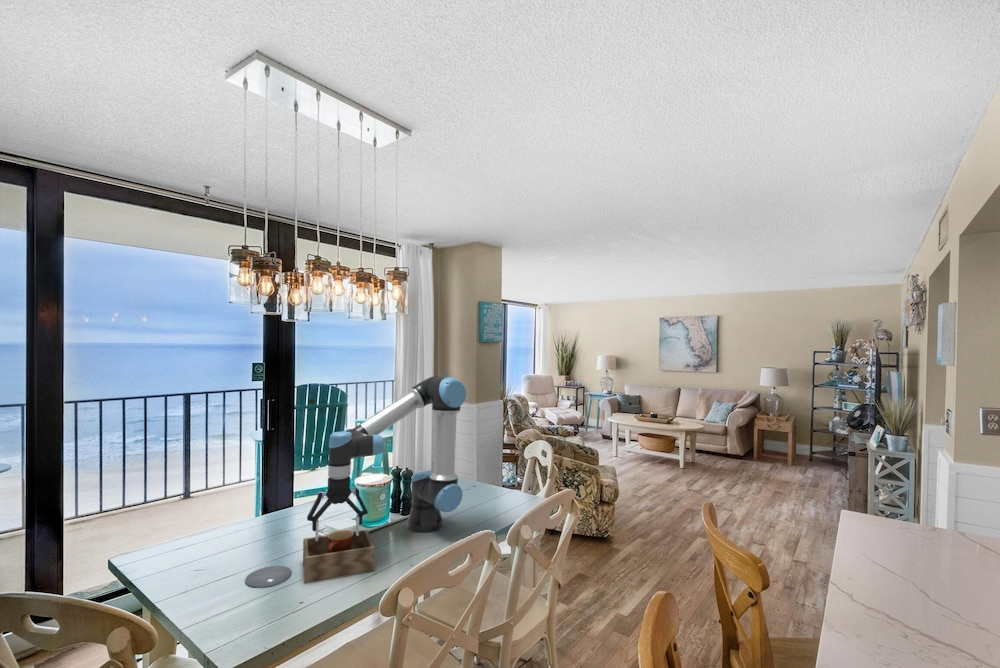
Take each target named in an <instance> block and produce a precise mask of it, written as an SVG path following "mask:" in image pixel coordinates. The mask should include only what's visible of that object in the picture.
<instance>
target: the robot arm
mask: <svg viewBox="0 0 1000 668" xmlns="http://www.w3.org/2000/svg"><path fill="white" fill-rule="evenodd" d="M466 399H467V389H466V386H465V385H464V383H463V382H462V381H461V380H459V379H457V378H454V377H450V376H449V377H447V376H437V375H434V376H430V377H428V378H426V379H424V380H422V381H420V382H418V383H417V384H416V385H413V386H412V387H411V388H410V389H408V392H407V393H406V394H404V395H403V396H402V397H401V396H400V398H398V399H397V400H395V401H394V402H392V403H391V404H389V405H388V406H386V407H384V408H383V409H381V410H380V411H378V412H376V413H375V414H374V415H371V417H369V418H368V419H366V420H364V421H363V422H361V423H360V424H358V425H357V426H355V427H354V428H346V429H344V430H342V431H336V432H332V433H331V434H330V435H329V441H328V465H327V466H328V467H327V468H328V470H327V471H328V474H327V476H328V478H327V490H326V491H321V490H318V492H317V497H316V499H315V501H314V503H313V505H312V507H311V509H310V510H309V512H308V514H307V517H306V519H307V521H308V522H312V524H311V525H312V527H311V528H312V531H313V532H315V536H314V537H315V539H316V541H318V536H319V524H320V523H319V518H320V517H321V516H322V515H323V514H324V512H326V510H327V509H328V508H329V507H330V506H331V505H332V504H333V505H337V504H344V503H346V504H347V505H348V506H349V507H350V508H351V509H352V510H353V511H354V512H355V513H356V515H355V531H356V536H359V531H360V526H362V525H363V516H364V515H368V514H369V512H368V509H367V508H366V506H365V503H364V501H363V500H362V498H361V496H360V489H359V487H354V489H351V476H350V475H351V470H352V469H351V467H352V466H351V463H352V459H356V458H357V459H358V458H363V457H373V456H378V455H381V454H382V453H383V451H384V447H385V442H384V438H383V436H382V435H381V433H383V432H384V431H386V430H387V429H389V428H391V426H393V425H395V424H396V423H398V422H399V421H401V420H403V419H404V418H405V417H406V416H408V415H410V414H411V413H412V412H414V411H416V410H417V409H423V408H425V407H426V406H427V405H431V406H432V407H431V409H432V412H434V414H435V421H434V422H435V423H434V424H435V426H434V449H433V452H434V453H433V470H422V471H417V472H415V473H413V474H412V477H411V509H410V512H409V515H408V518H407V524H406V526H407V529H408V530H410V531H411V532H418V533H428V532H434V531H437V530H439V529H441V528H442V527H443V523H444V522H443V517H442V513H441V512H443V513H450V512H453V511H454V510H455V511H456V509H457V508H458V506H459V505H460V504H461V503H462V500H463V495H464V494H463V489H462V488H461V486H460V485H458V482H459V481H458V480H459V476H458V474H456V473H455V466H456V465H455V461H456V460H455V459H456V443H457V442H456V439H457V437H456V435H457V433H456V432H457V415H458V413H459V412H460V411H461V407H462V405H463V404H464V402H465V401H466ZM351 495H353V496H355V497H356V500H357V501H358V503H359V505H360V507H361V510H360V508H359V507H358V506H357V505H356V504H355V503H354V502H353V501H352V500H351V498H350V496H351ZM325 496H326V498H327V499H326V500H325V502H324V503H323V505H322V506H320V504H321V501H322V499H324V498H325ZM319 506H320V508H319V509H318V507H319ZM317 509H318V511H317Z"/></svg>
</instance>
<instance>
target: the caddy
mask: <svg viewBox="0 0 1000 668" xmlns="http://www.w3.org/2000/svg"><path fill="white" fill-rule="evenodd" d="M352 532H353V533H354V535H353V538H352V542H351V550H346V551H340V552H333V553H327V550H328V546H329V544H330V543H329V540H328V535H329V534H327V535H318V541H316V539H315V536H312V537H305V538H302V539H303V541H302V542H303V544H302V545H303V547H302V566H303V583H304V584H308V583H312V582H318V581H325V580H329V579H330V580H331V579H335V578H340V577H347V576H352V575H357V574H363V573H369V572H370V573H371V572H375V551H376V549H375V545H374V543H373V541H372V538H371V535H370V533H369V530H368V529H361V530H360V529H359V536H356V530H353V531H352Z"/></svg>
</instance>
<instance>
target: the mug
mask: <svg viewBox="0 0 1000 668" xmlns="http://www.w3.org/2000/svg"><path fill="white" fill-rule="evenodd" d="M327 535H328V540H329V543H330V544H329V546H328V550H327V553H333V552H340V551H346V550H351V542H352V538H353V535H354V533H353V531H352V530H345V529H341V530H336V531H332V532H331V533H329V534H327Z"/></svg>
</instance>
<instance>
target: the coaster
mask: <svg viewBox="0 0 1000 668" xmlns="http://www.w3.org/2000/svg"><path fill="white" fill-rule="evenodd" d="M292 573H293V572H292V569H291V568H290V567H287V566H284V565H273V566H267V567H263V568H258V569H256V570H254V571H252V572H250V573H249V574H248V575H247V576H246V577H245V579H244V580H245V582H244V584H245V585H246V586H247V587H250V588H254V589H264V588H269V587H275V586H278V585H281V584H282V583H285V581H286V582H287V580H289V579H290V578H292V577H291V576H292Z"/></svg>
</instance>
